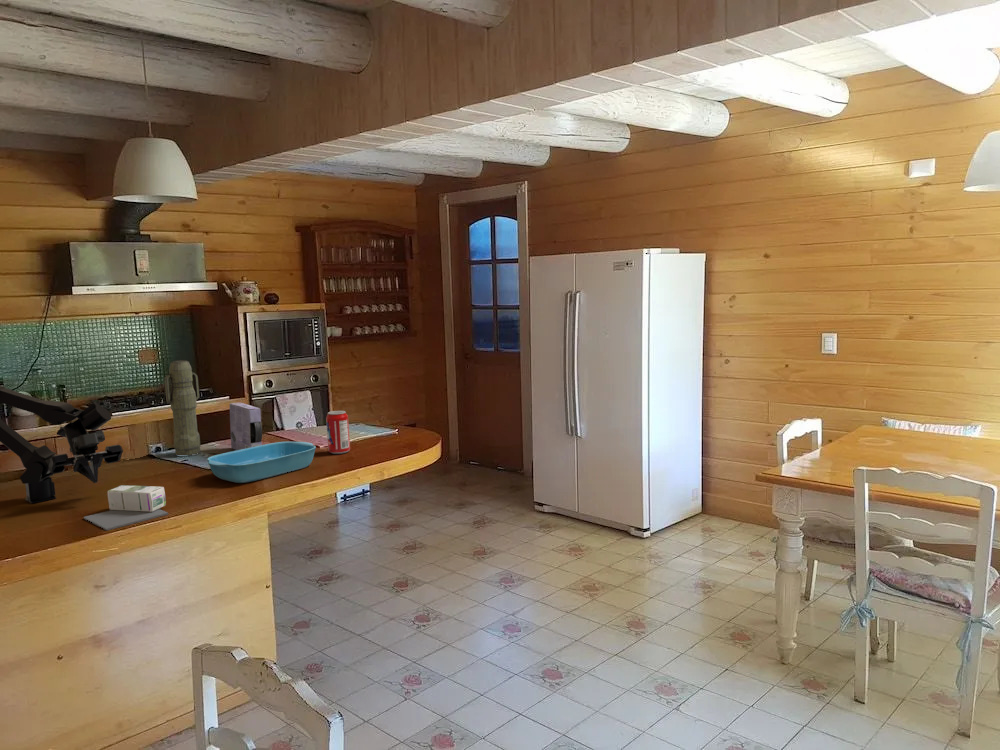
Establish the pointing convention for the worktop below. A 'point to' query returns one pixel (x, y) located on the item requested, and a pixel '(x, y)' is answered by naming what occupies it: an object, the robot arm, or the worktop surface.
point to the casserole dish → (262, 461)
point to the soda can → (338, 432)
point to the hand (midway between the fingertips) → (95, 482)
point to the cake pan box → (245, 426)
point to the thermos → (183, 406)
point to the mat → (122, 518)
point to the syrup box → (136, 498)
